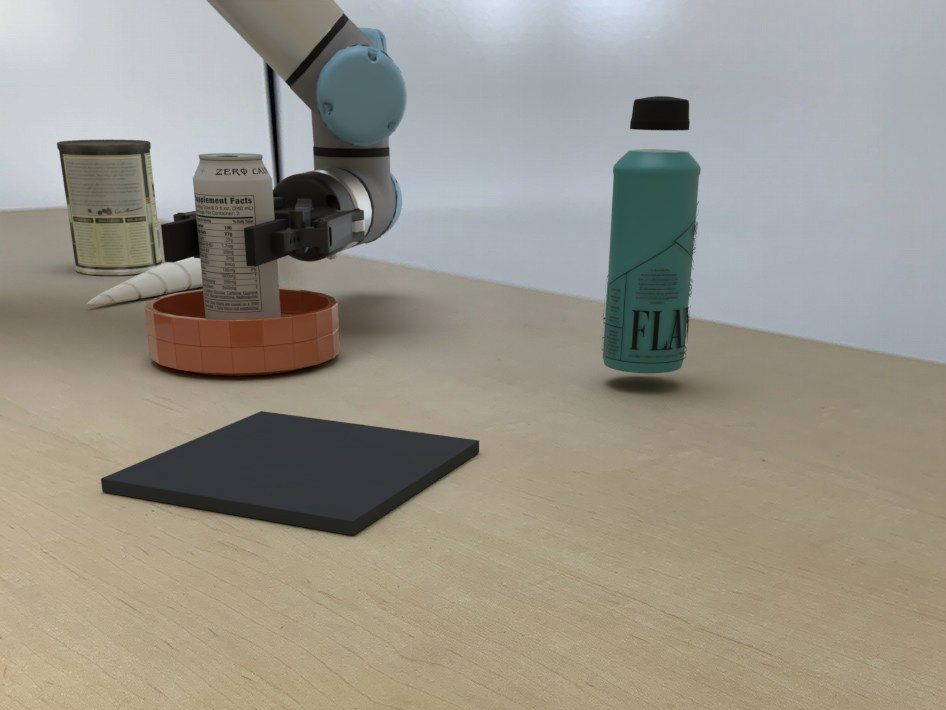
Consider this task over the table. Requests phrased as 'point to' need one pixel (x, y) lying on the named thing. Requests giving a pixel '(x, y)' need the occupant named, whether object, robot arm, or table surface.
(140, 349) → the table surface
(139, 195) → the coffee can
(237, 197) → the energy drink can
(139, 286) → the unicorn horn
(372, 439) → the mat
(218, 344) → the bowl
